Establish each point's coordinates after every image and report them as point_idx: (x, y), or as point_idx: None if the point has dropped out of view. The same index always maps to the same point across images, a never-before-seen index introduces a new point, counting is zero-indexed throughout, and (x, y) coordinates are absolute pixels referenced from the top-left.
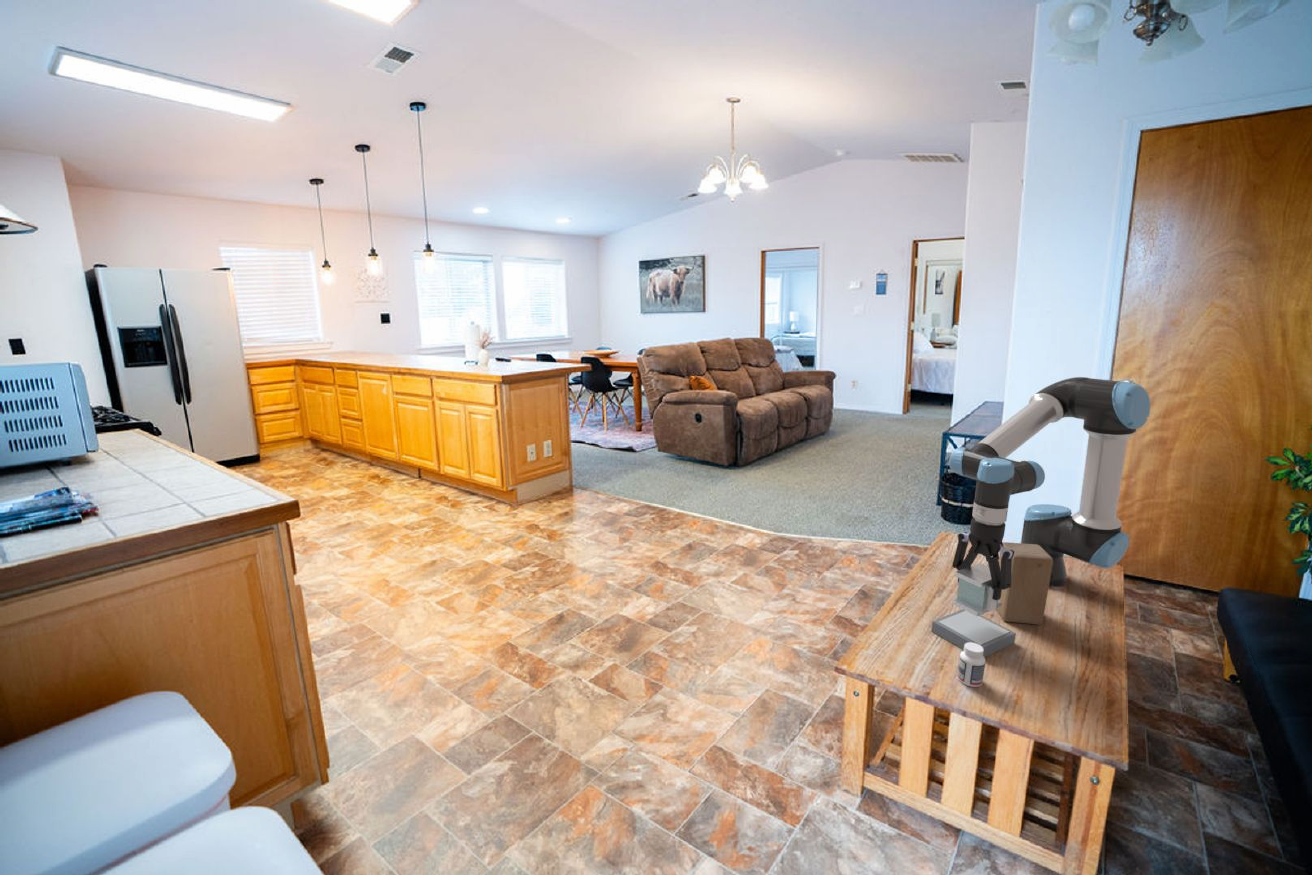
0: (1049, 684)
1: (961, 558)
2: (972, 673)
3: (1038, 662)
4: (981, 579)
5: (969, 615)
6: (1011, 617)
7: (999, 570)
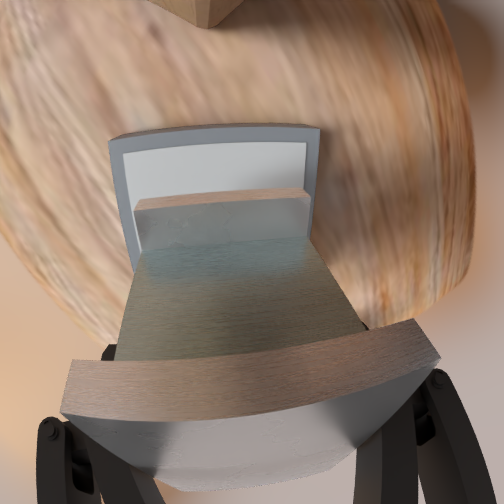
0: (413, 220)
1: (85, 501)
2: None
3: (380, 161)
4: (312, 470)
5: (156, 179)
6: (226, 13)
7: (411, 481)
